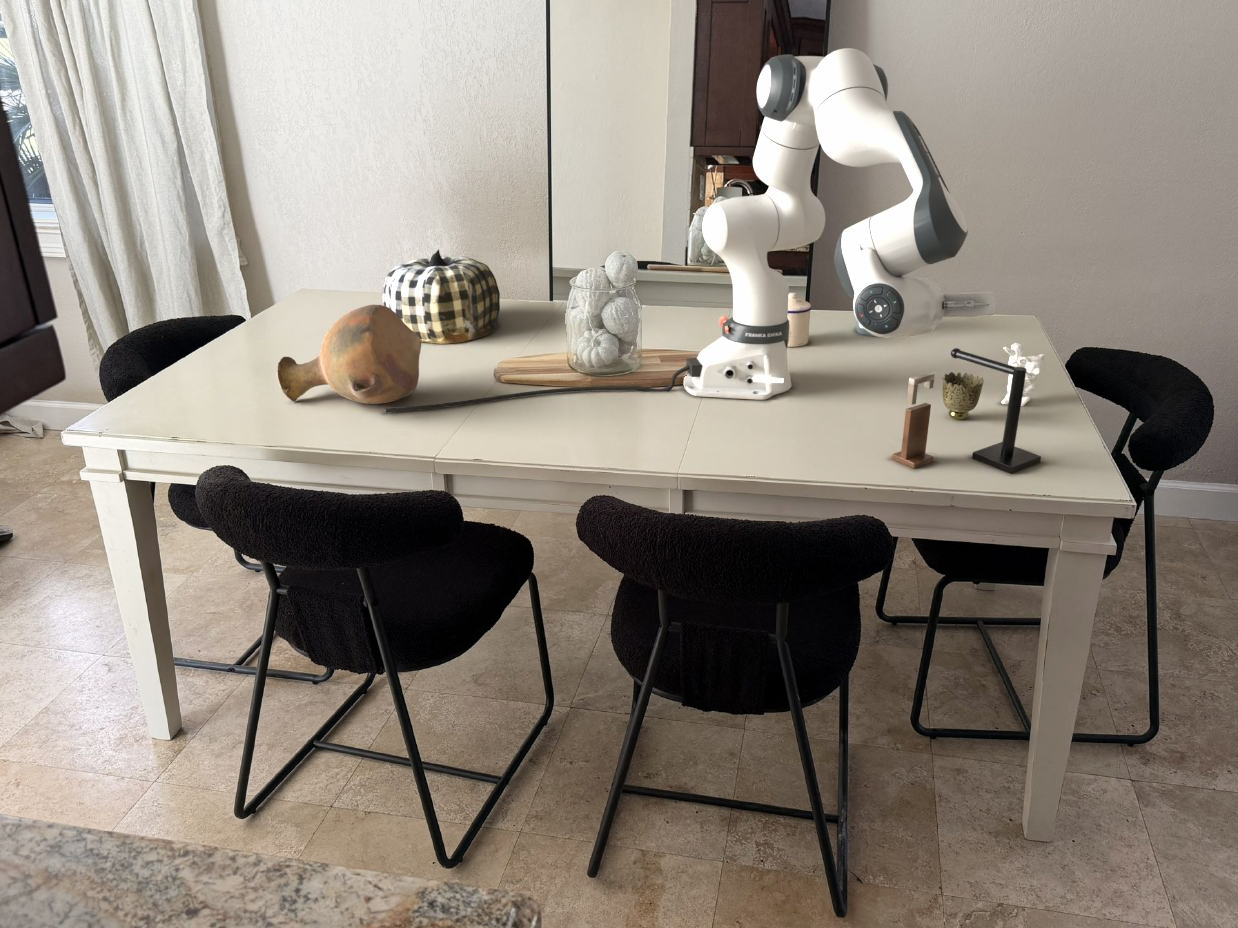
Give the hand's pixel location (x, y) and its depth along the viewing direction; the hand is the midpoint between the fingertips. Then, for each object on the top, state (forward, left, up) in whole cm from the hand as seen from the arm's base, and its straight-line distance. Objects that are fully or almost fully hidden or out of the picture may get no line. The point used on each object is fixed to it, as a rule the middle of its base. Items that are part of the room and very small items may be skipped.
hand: (939, 305), depth 165 cm
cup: (+12, +19, -28) cm, 36 cm away
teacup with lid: (-14, +69, -28) cm, 76 cm away
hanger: (-2, -1, -27) cm, 28 cm away
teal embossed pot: (+9, +77, -28) cm, 83 cm away
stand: (+12, +3, -27) cm, 30 cm away
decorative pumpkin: (-97, +84, -28) cm, 131 cm away
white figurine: (+26, +27, -28) cm, 47 cm away
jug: (-107, +33, -28) cm, 115 cm away
